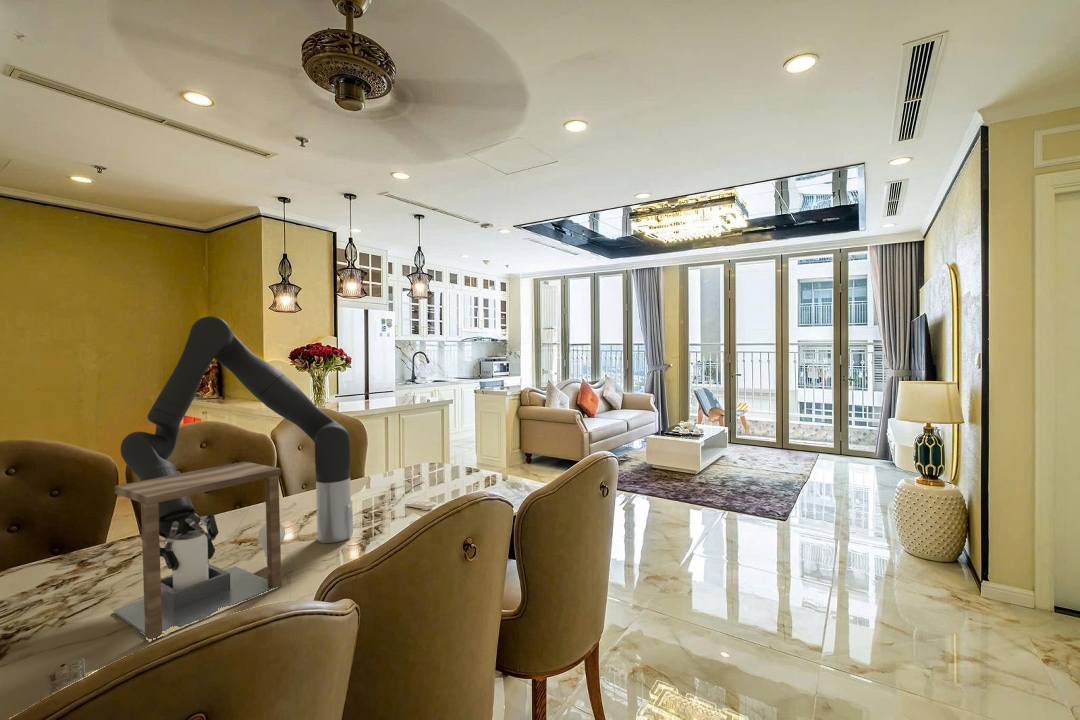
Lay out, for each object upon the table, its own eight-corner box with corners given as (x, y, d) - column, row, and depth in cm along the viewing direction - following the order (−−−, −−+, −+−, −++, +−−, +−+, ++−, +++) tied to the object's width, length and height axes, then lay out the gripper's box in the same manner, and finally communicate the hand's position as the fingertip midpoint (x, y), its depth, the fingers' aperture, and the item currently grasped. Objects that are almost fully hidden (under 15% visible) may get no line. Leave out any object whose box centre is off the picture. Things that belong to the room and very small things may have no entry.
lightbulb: (291, 562, 124) (290, 519, 124) (271, 572, 119) (270, 528, 119) (273, 559, 126) (272, 517, 126) (252, 569, 121) (251, 525, 121)
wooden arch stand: (119, 620, 98) (114, 486, 98) (247, 572, 119) (244, 461, 119) (151, 644, 89) (147, 496, 89) (284, 587, 111) (280, 468, 110)
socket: (113, 612, 101) (112, 594, 101) (235, 568, 121) (234, 552, 121) (152, 641, 90) (152, 620, 90) (279, 587, 111) (278, 570, 111)
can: (190, 596, 104) (188, 541, 104) (165, 593, 105) (163, 539, 105) (215, 582, 111) (214, 530, 110) (192, 580, 112) (190, 528, 112)
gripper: (135, 500, 106) (159, 565, 99) (208, 484, 118) (234, 541, 112) (126, 520, 109) (150, 585, 102) (198, 502, 121) (223, 559, 115)
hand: (193, 562), depth 107 cm, fingers closed on can, 6 cm apart
